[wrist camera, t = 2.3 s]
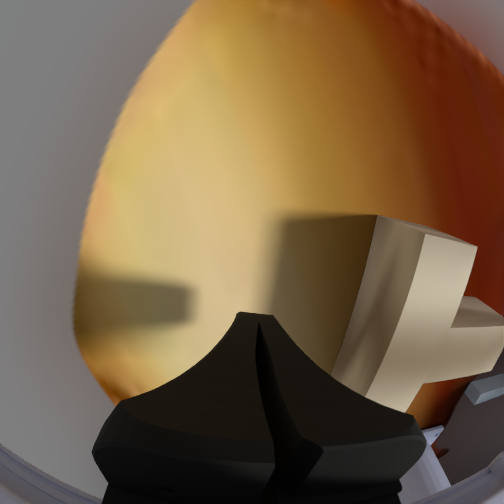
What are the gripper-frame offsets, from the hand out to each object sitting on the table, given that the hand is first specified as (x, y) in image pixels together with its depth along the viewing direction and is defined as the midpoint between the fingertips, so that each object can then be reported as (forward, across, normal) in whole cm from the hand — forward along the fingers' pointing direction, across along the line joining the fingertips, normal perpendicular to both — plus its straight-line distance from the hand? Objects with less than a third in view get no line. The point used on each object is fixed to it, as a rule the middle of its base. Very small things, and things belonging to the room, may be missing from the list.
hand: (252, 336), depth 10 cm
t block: (+3, -9, 0) cm, 10 cm away
